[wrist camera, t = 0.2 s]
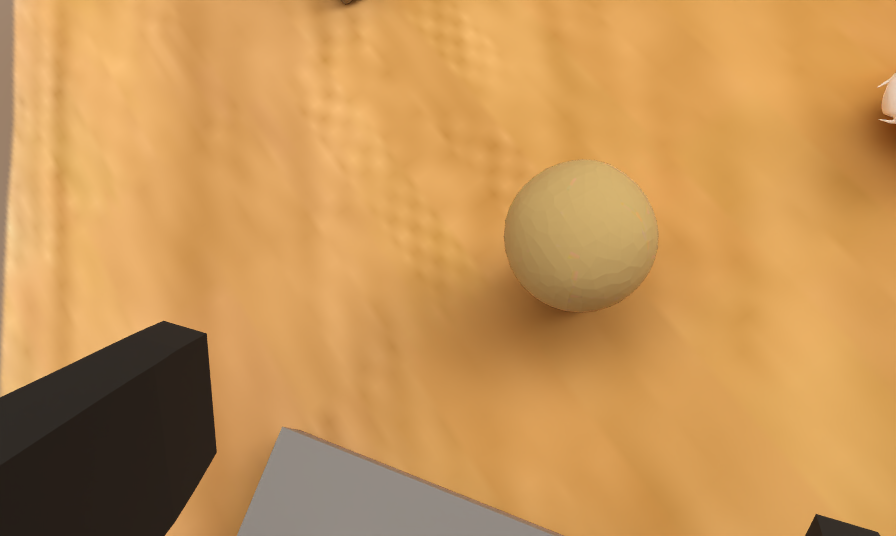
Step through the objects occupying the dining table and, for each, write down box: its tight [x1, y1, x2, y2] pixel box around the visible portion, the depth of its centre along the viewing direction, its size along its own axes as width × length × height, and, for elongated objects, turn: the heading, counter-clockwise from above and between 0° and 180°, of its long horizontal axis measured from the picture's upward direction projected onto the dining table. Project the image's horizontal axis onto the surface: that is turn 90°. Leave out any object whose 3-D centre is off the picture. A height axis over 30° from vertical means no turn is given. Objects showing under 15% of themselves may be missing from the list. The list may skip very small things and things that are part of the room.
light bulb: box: [504, 159, 658, 312], centre depth 37 cm, size 6×6×10 cm
